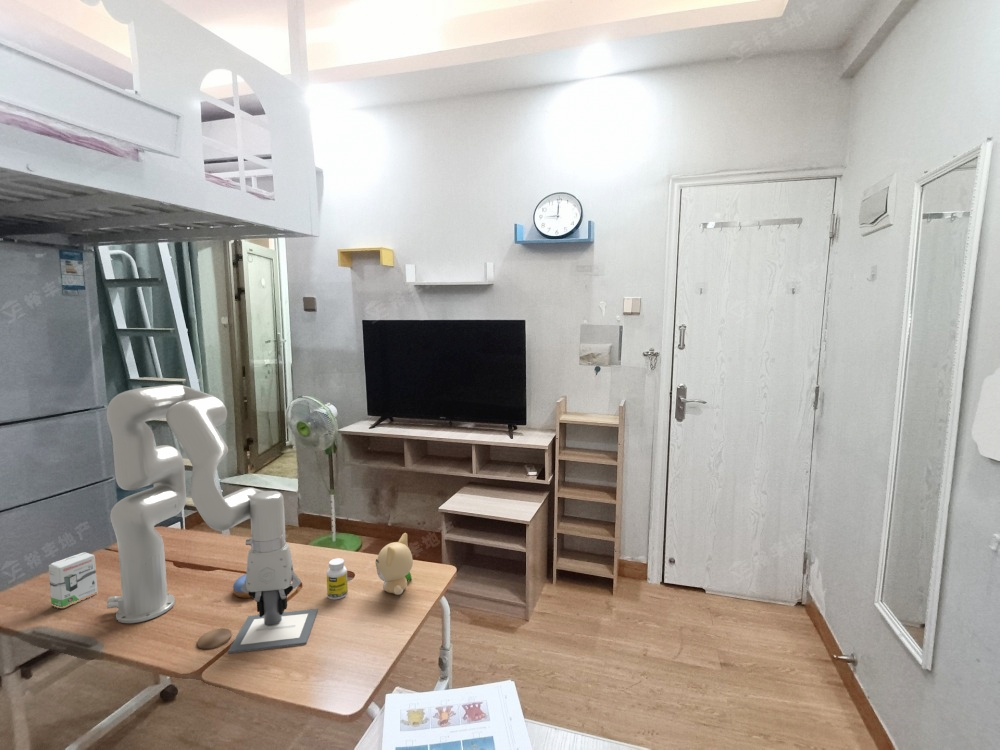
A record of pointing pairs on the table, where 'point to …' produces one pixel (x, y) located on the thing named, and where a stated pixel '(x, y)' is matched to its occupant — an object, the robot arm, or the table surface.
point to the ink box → (72, 579)
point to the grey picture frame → (274, 632)
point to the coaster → (214, 638)
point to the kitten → (395, 565)
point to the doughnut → (238, 585)
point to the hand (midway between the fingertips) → (272, 612)
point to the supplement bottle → (337, 579)
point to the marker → (271, 607)
